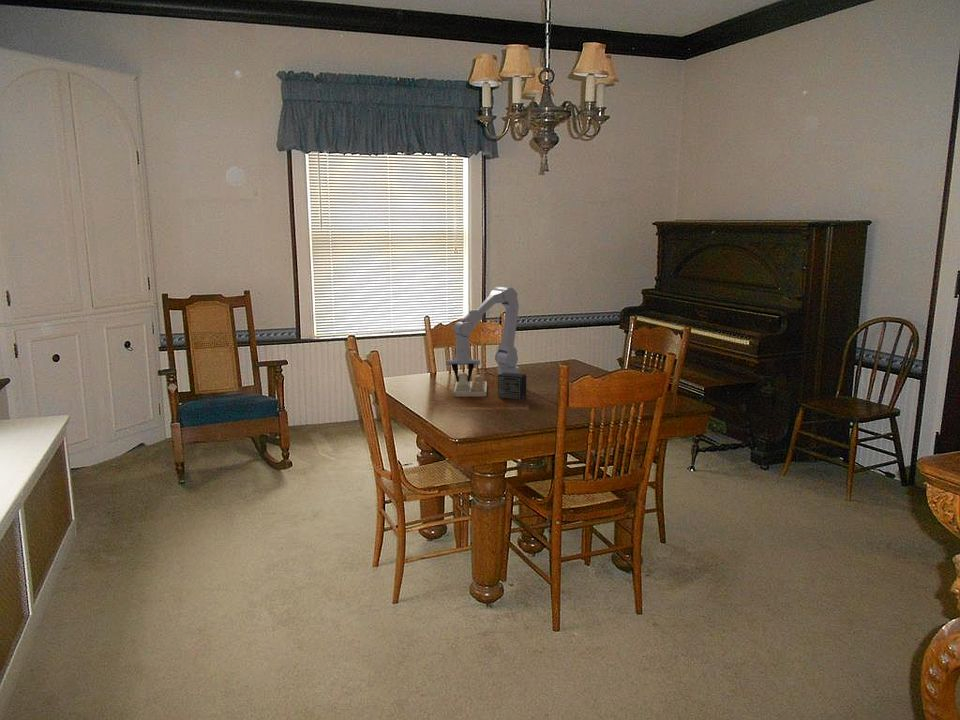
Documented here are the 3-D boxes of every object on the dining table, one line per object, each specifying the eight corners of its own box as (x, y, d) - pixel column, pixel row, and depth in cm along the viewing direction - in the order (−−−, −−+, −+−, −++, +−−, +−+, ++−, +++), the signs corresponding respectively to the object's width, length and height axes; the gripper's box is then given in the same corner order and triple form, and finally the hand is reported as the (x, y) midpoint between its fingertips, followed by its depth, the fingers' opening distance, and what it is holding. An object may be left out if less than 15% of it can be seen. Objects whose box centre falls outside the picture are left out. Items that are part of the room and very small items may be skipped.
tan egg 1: (483, 385, 315) (483, 374, 314) (483, 388, 311) (483, 376, 310) (473, 386, 315) (473, 374, 314) (473, 388, 311) (473, 376, 310)
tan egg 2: (483, 392, 302) (482, 380, 301) (482, 395, 298) (482, 382, 297) (473, 392, 302) (472, 380, 301) (472, 395, 298) (472, 382, 297)
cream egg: (467, 383, 308) (467, 371, 307) (468, 385, 304) (468, 373, 303) (458, 383, 308) (457, 371, 307) (458, 385, 304) (458, 373, 303)
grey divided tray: (486, 387, 316) (486, 381, 316) (486, 398, 297) (486, 391, 296) (456, 387, 317) (455, 381, 316) (453, 398, 297) (453, 392, 297)
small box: (527, 398, 297) (527, 373, 295) (521, 402, 291) (521, 376, 289) (503, 396, 301) (503, 371, 299) (497, 399, 295) (497, 374, 293)
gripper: (479, 348, 307) (479, 379, 310) (445, 348, 307) (446, 379, 309) (480, 351, 301) (480, 382, 303) (445, 351, 300) (446, 383, 302)
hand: (463, 381), depth 306 cm, fingers closed on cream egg, 4 cm apart
